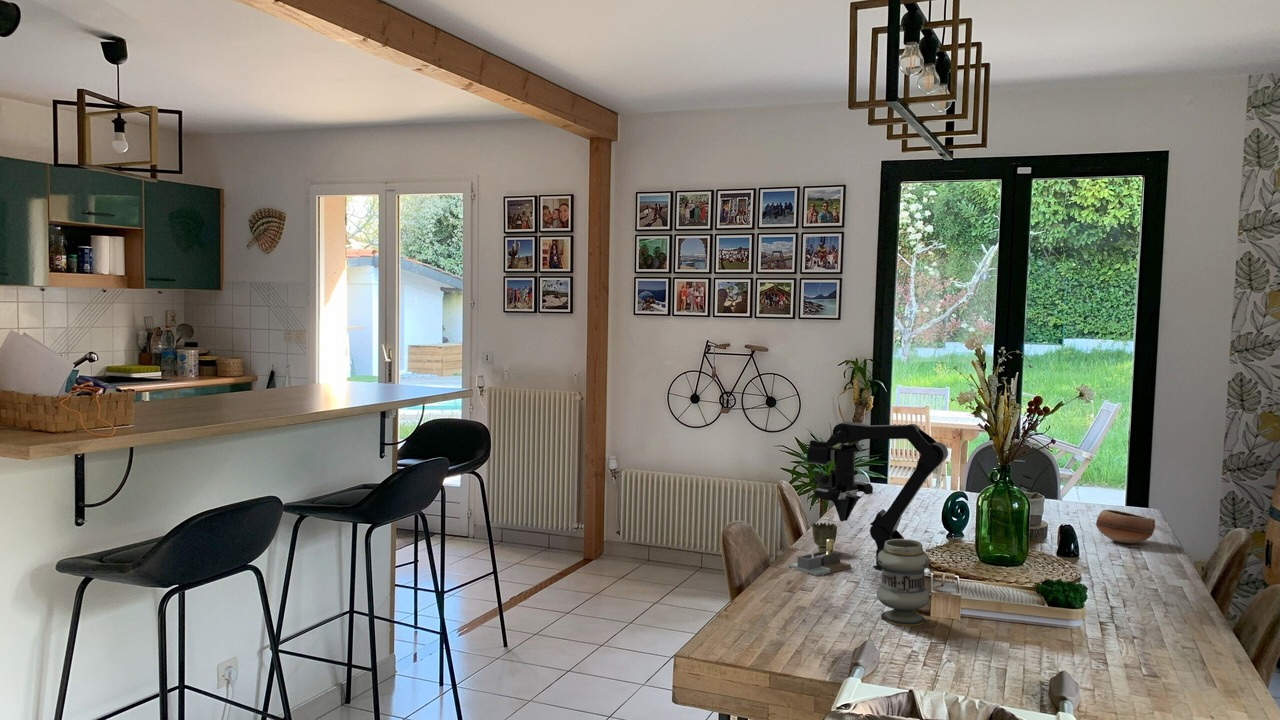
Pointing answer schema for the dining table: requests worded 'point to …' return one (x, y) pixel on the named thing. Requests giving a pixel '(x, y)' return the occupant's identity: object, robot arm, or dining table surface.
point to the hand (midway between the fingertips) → (843, 520)
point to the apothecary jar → (903, 581)
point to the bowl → (1125, 526)
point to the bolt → (827, 549)
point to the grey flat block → (833, 562)
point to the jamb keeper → (810, 565)
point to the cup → (823, 534)
